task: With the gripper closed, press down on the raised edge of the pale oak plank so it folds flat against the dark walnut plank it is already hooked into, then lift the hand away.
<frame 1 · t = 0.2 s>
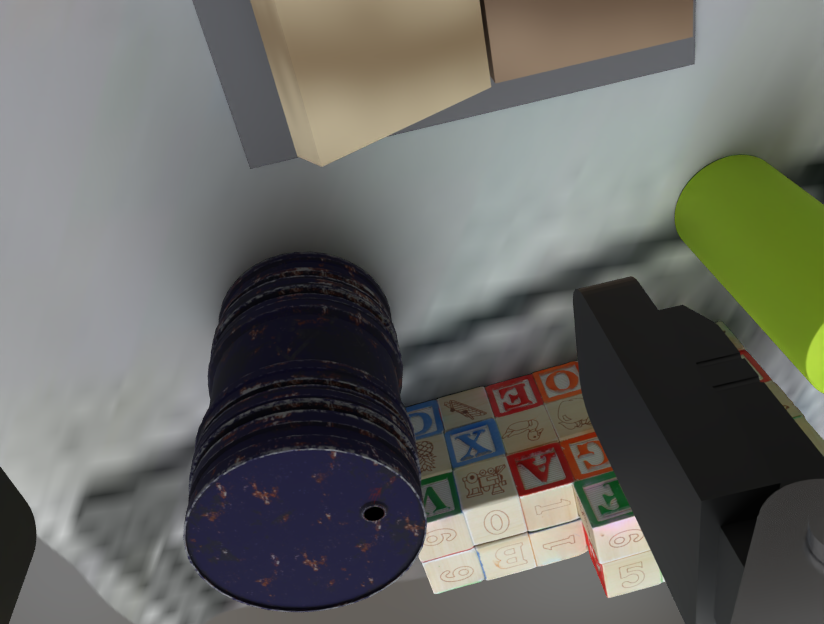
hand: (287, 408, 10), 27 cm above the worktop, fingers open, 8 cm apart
stack of blocks: (560, 398, 48), on the worktop
storage jar: (306, 324, 42), on the worktop
soap dispenser: (721, 196, 41), on the worktop
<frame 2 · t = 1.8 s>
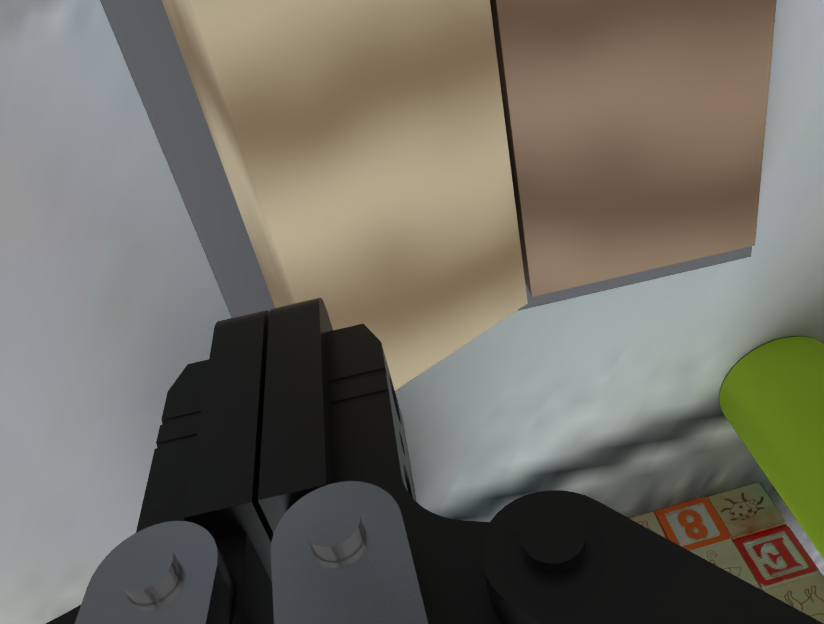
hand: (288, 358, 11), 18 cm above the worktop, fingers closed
underlay mat: (452, 0, 25), on the worktop
stack of blocks: (583, 560, 44), on the worktop
oak plank: (354, 61, 22), point 4 cm above the worktop, hinge at 30.0°
soap dispenser: (771, 374, 37), on the worktop
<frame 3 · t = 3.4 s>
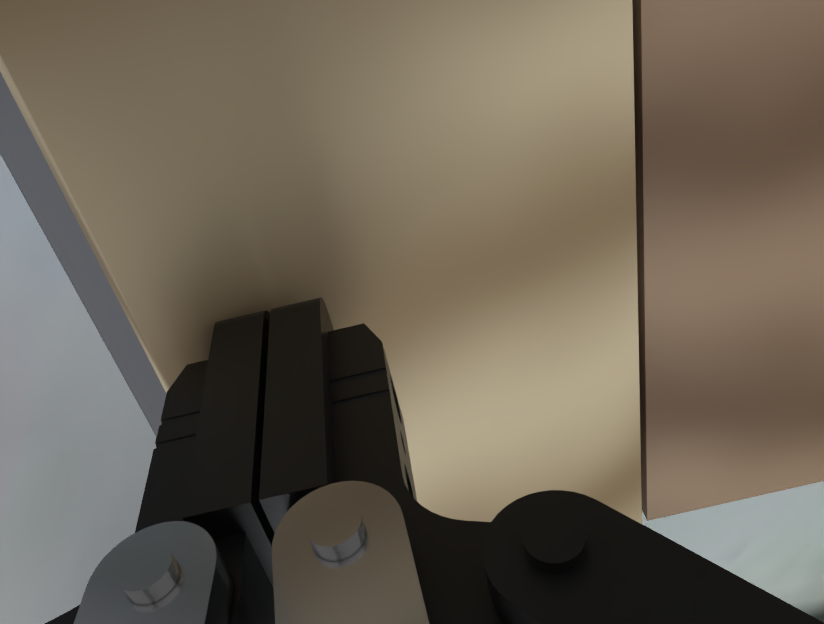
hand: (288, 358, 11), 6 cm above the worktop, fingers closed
walnut plank: (806, 52, 16), resting on underlay mat
underlay mat: (553, 111, 16), on the worktop
oak plank: (402, 240, 13), point 4 cm above the worktop, hinge at 26.3°, touching gripper
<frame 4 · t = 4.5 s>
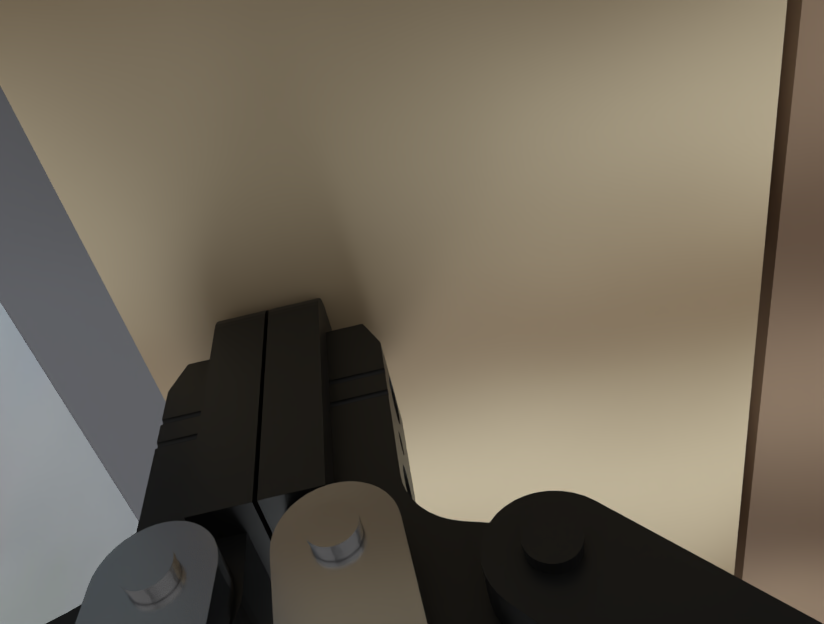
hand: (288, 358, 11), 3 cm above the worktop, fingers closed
underlay mat: (646, 176, 13), on the worktop
oak plank: (446, 276, 12), point 2 cm above the worktop, hinge at -0.4°, touching gripper
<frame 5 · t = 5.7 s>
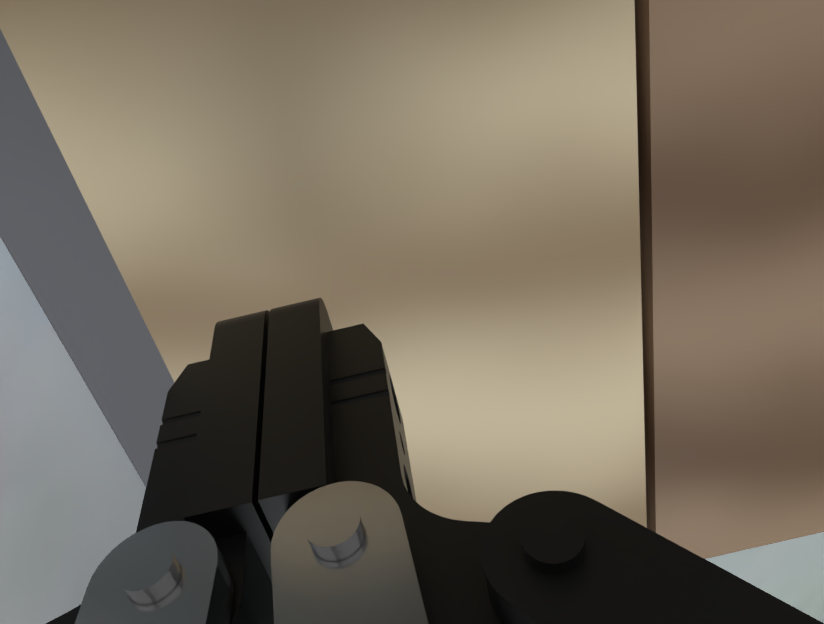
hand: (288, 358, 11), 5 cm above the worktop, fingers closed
walnut plank: (819, 89, 15), resting on underlay mat
underlay mat: (556, 150, 15), on the worktop
oak plank: (383, 230, 14), point 2 cm above the worktop, hinge at -0.5°
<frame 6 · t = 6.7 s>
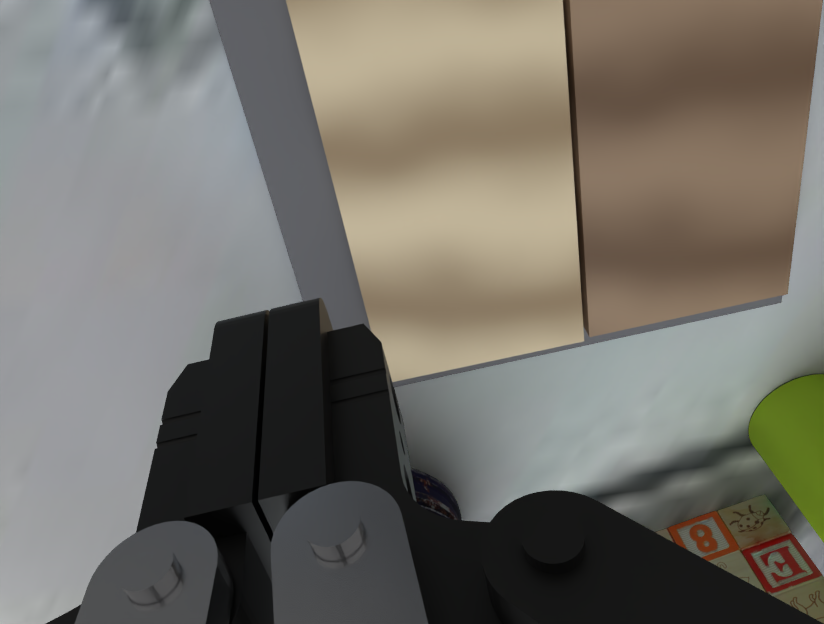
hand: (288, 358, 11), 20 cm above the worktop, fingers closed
walnut plank: (668, 51, 29), resting on underlay mat
underlay mat: (531, 81, 29), on the worktop
stack of blocks: (606, 577, 47), on the worktop
storage jar: (375, 525, 42), on the worktop
oak plank: (442, 116, 28), point 2 cm above the worktop, hinge at -0.5°
soap dispenser: (796, 408, 41), on the worktop
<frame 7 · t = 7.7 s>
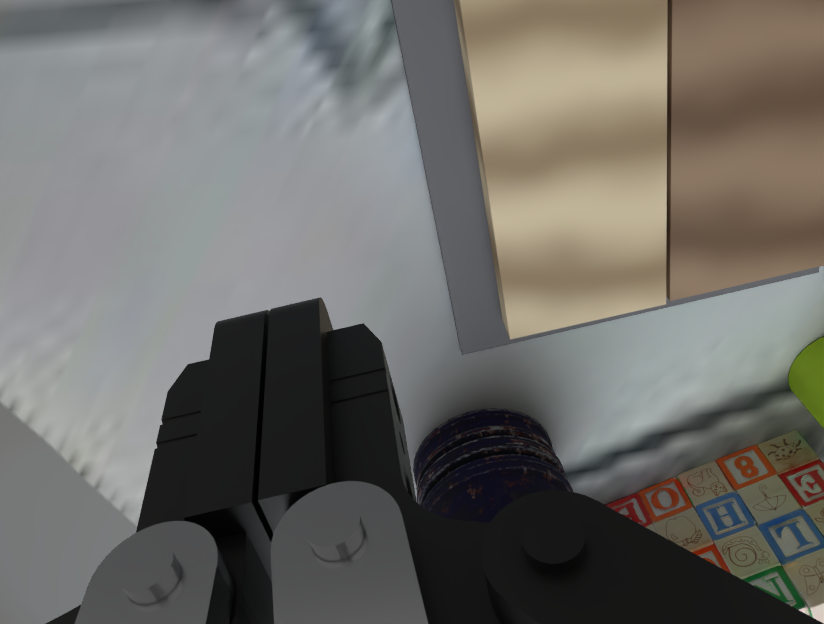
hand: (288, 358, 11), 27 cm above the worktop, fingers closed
walnut plank: (737, 79, 38), resting on underlay mat
underlay mat: (632, 104, 38), on the worktop
stack of blocks: (664, 504, 57), on the worktop
storage jar: (482, 459, 51), on the worktop
oak plank: (569, 133, 37), point 2 cm above the worktop, hinge at -0.5°
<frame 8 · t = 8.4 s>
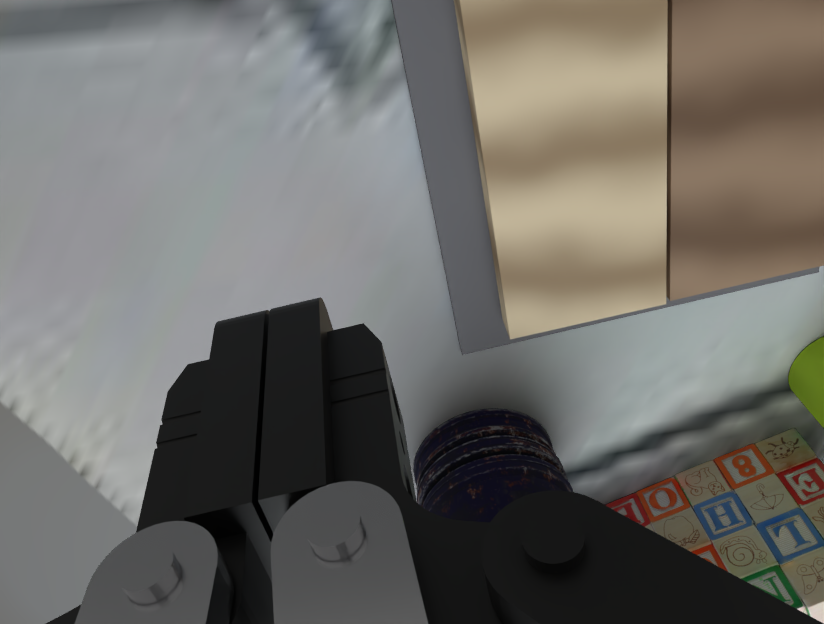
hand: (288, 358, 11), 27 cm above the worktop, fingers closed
walnut plank: (737, 79, 38), resting on underlay mat
underlay mat: (632, 104, 38), on the worktop
stack of blocks: (663, 504, 57), on the worktop
storage jar: (482, 459, 51), on the worktop
oak plank: (569, 133, 37), point 2 cm above the worktop, hinge at -0.5°
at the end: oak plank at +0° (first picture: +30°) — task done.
